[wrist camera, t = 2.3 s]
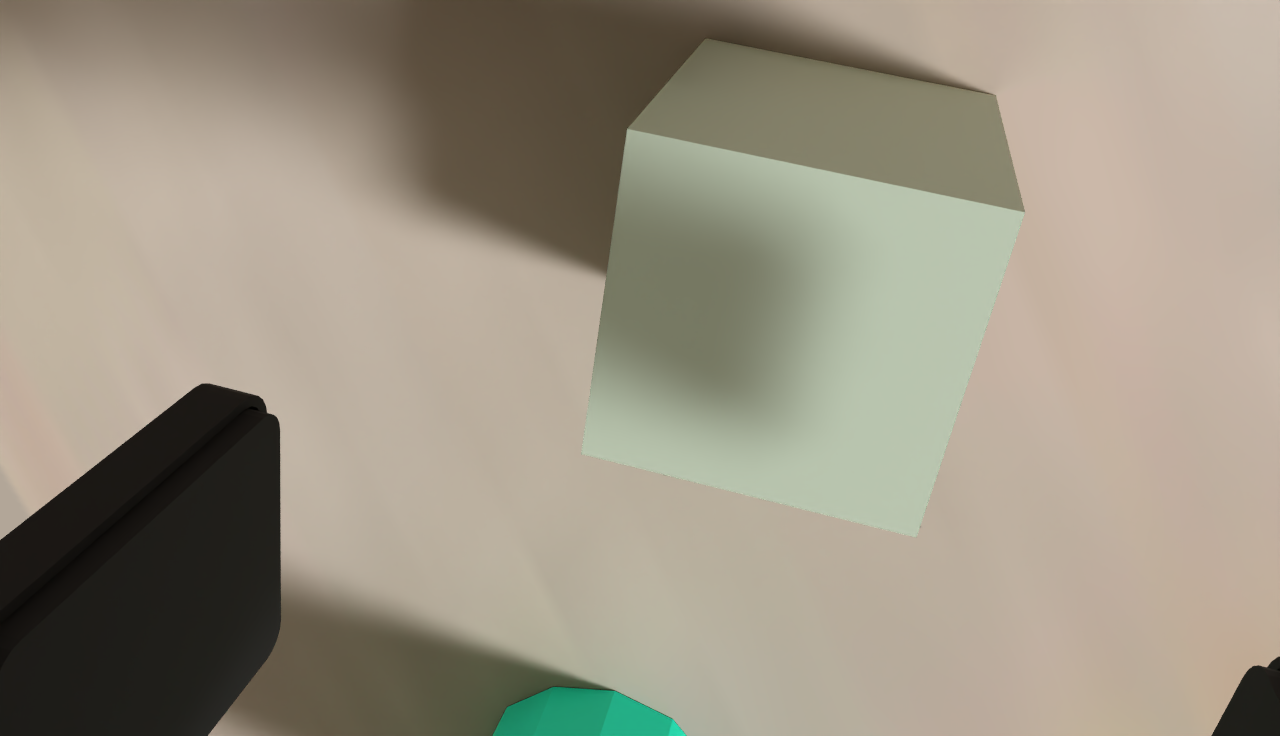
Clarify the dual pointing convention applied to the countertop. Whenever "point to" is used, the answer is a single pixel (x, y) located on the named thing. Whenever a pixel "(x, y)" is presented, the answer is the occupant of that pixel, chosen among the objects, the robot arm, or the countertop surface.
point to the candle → (583, 715)
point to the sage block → (800, 281)
